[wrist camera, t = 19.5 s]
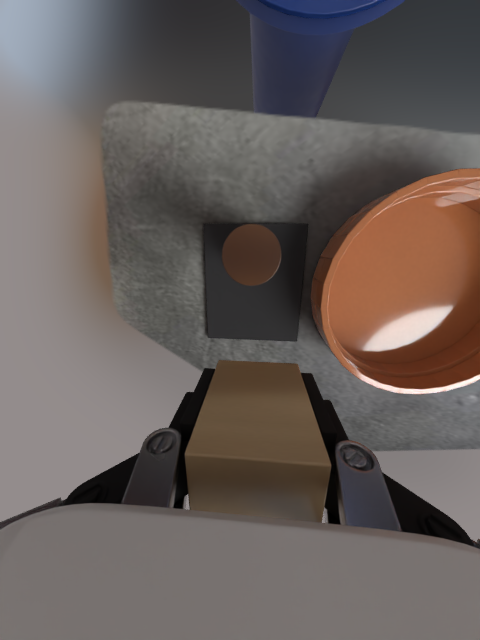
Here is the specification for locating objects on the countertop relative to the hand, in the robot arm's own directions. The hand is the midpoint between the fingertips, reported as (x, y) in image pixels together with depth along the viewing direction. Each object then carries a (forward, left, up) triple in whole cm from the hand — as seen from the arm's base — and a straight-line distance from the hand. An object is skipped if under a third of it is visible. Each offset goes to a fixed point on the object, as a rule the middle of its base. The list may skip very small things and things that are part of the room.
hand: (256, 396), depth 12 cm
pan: (-4, +14, -13) cm, 20 cm away
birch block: (0, 0, 0) cm, 0 cm away
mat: (-4, -1, -13) cm, 14 cm away
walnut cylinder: (-7, -1, -13) cm, 15 cm away
